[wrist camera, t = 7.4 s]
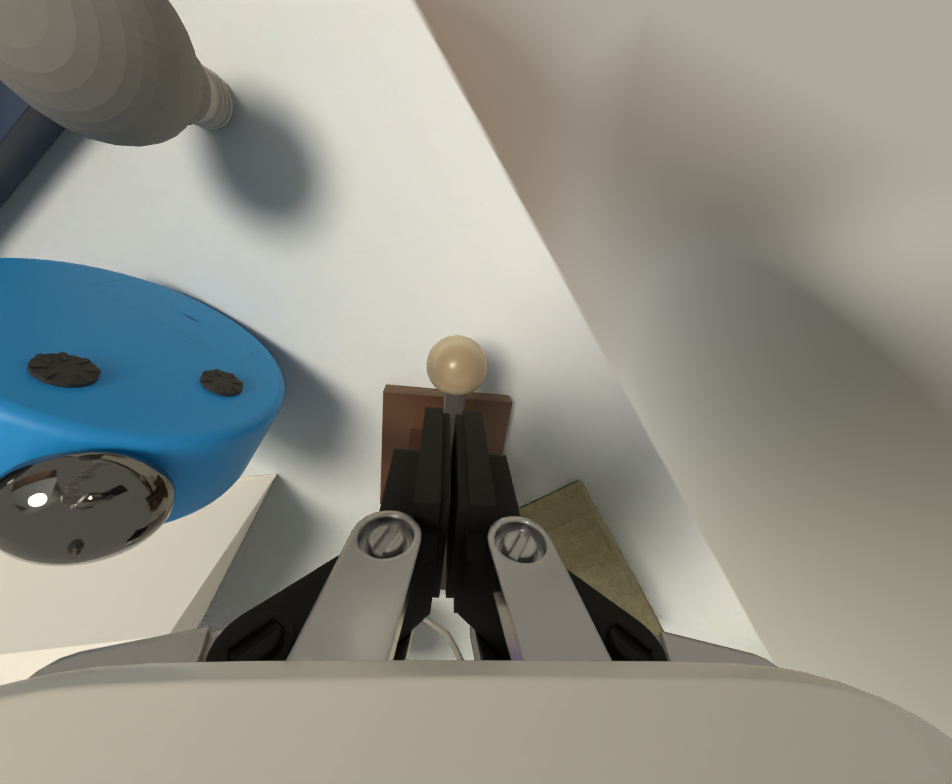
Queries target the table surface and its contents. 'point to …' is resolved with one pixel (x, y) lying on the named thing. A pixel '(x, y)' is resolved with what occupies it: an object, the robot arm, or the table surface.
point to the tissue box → (590, 549)
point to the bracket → (408, 416)
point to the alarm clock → (117, 409)
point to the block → (123, 587)
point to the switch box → (21, 139)
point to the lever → (455, 380)
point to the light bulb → (109, 69)
